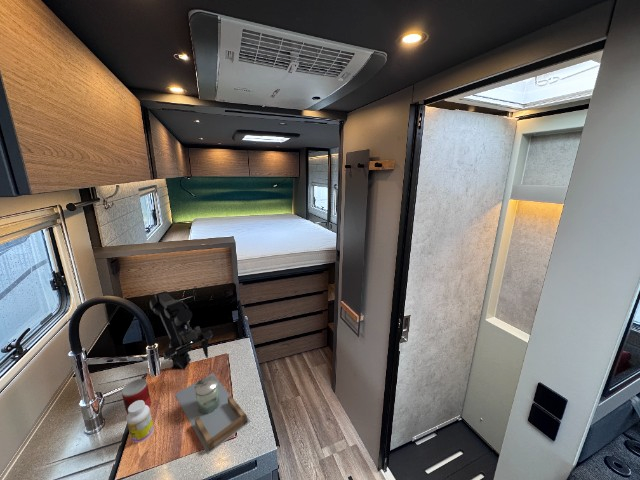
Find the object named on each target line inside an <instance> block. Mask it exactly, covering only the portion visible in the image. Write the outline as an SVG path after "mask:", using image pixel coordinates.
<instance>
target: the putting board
mask: <svg viewBox="0 0 640 480" xmlns="http://www.w3.org/2000/svg"><path fill="white" fill-rule="evenodd" d="M208 376H213V377H215V378H217V377H216V375H215V374H214V373H213V372H212V373H210V374H209V375H207V376H205V377H208ZM198 381H199V380H197V381H195V382H194V383H192V384H190V385H188V386H186V387H185V388H182V390H179V391H178V392H175V393H174V396H175V397H176V399H177V401H178V403H179V405H180V407H181V408H182V410H183V412H184V415H185V416H186V418H187V419H188V422H189V423H190V426H191V427H192V429H193V431H194V433H195V435H196V436H197V438H198V440H199V443H201V446H202V447H203V449H204V450H205V451H204V452H205V453H206V455H209V454H210V453H212V452H213V451H214V450H216V449H217V448H218V447H220V446H221V445H222V444H223V443H225V442H226V441H228V440H229V439H230V438H231V437H232V436H233V435H235V434H236V433H238V432H240V431H241V430H242V429H243V428H245V427H246V426H247V425H249V424H250V423H251V422H252V421H251V419H249V417H248V416H247V420H248V422H247V423H246V424H245V425H244V426H242V427H241V428H240V429H238V430H237V431H236V432H234V433H233V434H232V435H230V436H229V437H228V438H227V439H225V440H224V441H223V442H221V443H220V444H219V445H217V446H216V447H215V448H213V449H212V450H211V451H210V450H209V449H208V447H207V445H206V443H205V441H204V440H203V438H202V436H201V434H200V433H199V431H198V429H197V427H196V425H195V419H196V418H197V417H199V418H200V419H201V421H202V423H203V424H204V426H205V428H206V429H207V431H208V433H209V434H210V436H211V438H212V437H213V436H215V435H216V434H217V433H219V432H220V431H222V430H223V429H224V428H226V427H227V426H228V425H230V424H231V423H232V422H234V421H235V420H237V419H238V416H237V415H236V414H235V412H234V411H233V410H232V408H231V407H230V406H229V404H228V399H227V398H228V397H230V396H231V395H230V393H229V392H228V391H227V389H226V388H225V387H224V386H223V384H222V383H221V382H220V380H219V379H218V378H217V381H218V391H219V398H220V404H219V406H218V408H217V409H216V410H215V411H213V412H211V413H209V414H201V413H200V412H199V411H198V405H197V399H196V393H195V385H196V383H197V382H198Z"/></svg>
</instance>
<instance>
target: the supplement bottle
mask: <svg viewBox="0 0 640 480" xmlns="http://www.w3.org/2000/svg"><path fill="white" fill-rule="evenodd" d="M125 419H126V423H127V428H128V431H129V434H130V435H129V436H130V439H131V441H132V442H133V443H137V444H138V443H142V442H144V441H145V440H147V439H148V438H149V437H151V436H152V434H153V432H154V428H155V426H154V423H153V418H152V413H151V409H150V408H149V407H148V406H147V405H145V403H144V401H143V400H138V401H135V402H134V403H132V404H131V405H130V406H129V408H128V415H127V414H126V418H125Z"/></svg>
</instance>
